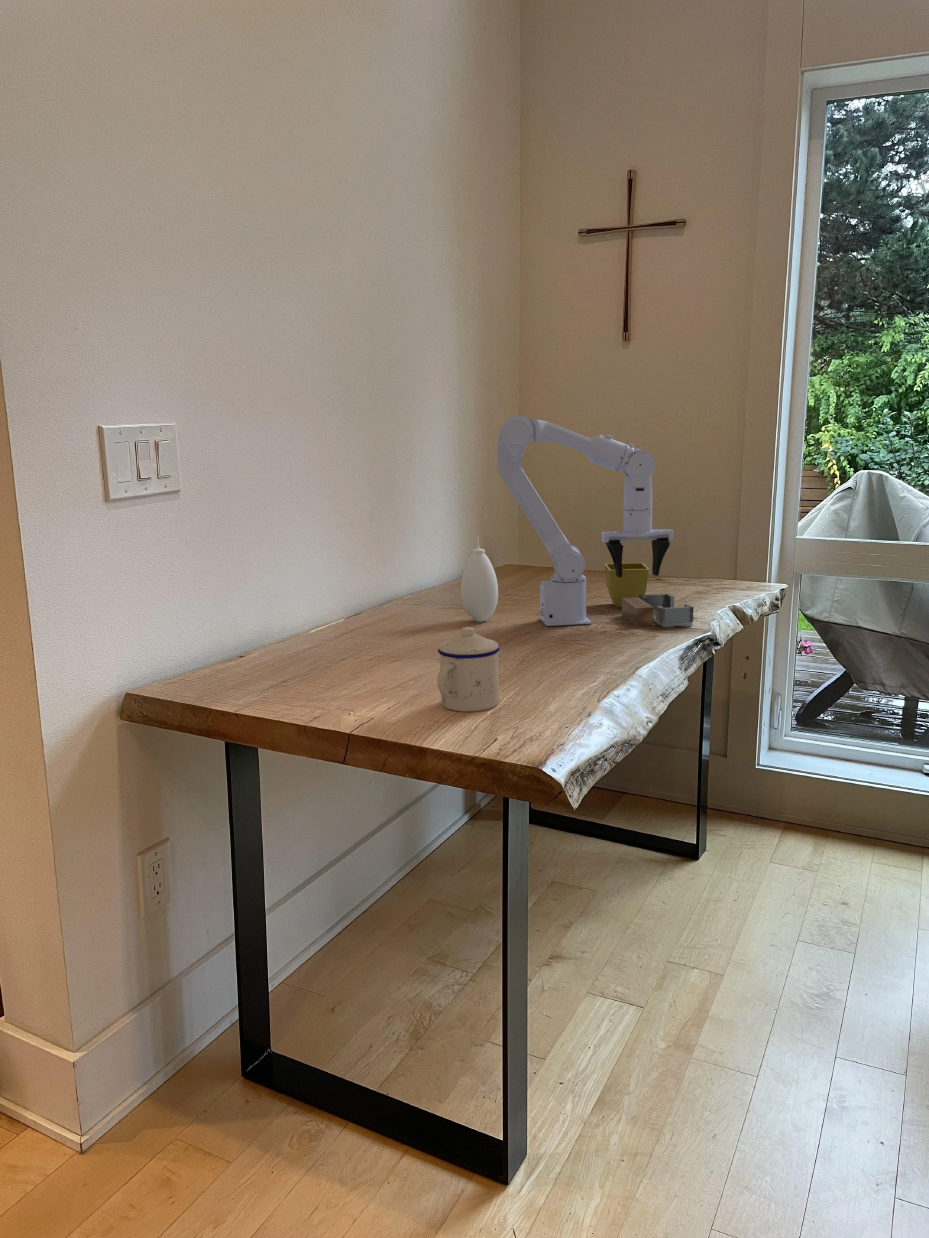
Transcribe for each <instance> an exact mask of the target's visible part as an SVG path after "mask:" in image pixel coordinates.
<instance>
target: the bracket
mask: <svg viewBox="0 0 929 1238" xmlns="http://www.w3.org/2000/svg"><path fill="white" fill-rule="evenodd" d="M639 598H640V599H641V600H643V601H644V602H646V603H647V604H649V605H650V606H652V607H653V623H655V622H656V623H655V624H657V625H658V626H660V627H661V626H662V627H661V628H663V627H665V628H675V627H674V626H685V627H692V626H693V623H694V606H692V605H690V603H689V604H688V603H686V604H685V603H684V604H683V605H684V606H676V607H675V595H673V594H671V593H655V594H654V593H652V594H651V593H650V594H645V595H640V597H639Z"/></svg>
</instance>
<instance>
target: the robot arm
mask: <svg viewBox="0 0 929 1238" xmlns="http://www.w3.org/2000/svg"><path fill="white" fill-rule="evenodd" d="M533 438H534V439H533ZM532 439H533V442H534V443H542V442H552V443H554V444H557V445H561V446H565V447H567V448H570V449H573V450H575V451H579V452H582V453H584V454H586V457H587V459H588V461H589V463H592V464H595V465H598V466H600V467H603V468H606V469H608V470H610V471H611V470H612V471H614V472H616V473H620V472H623V473H624V487H623V530H614V531H602V532H601V542H602V543H605V545H606V547H607V550H608V552H609V554H610V556H611V559H612V563H614V566H615V570H616V576H617V577H622V563H623V551H624V545H623V544H622V542H633V541H634V542H637V541H638V542H639V541H651V548H652V549H651V551H652V566H651V571H652V575H653V576H659V574H660V570H661V567H662V566H661V565H662V563H663V559H664V557H665V556H666V553H667V551H668V549H669V548H670V545H671V541H672V540H675V539H674V537H675V532H674V529H670V528H669V529H666V528H663V529H661V528H659V529H657V528H656V529H654V528H653V483H652V482H653V478H652V476H653V473H654V471H655V469H656V464H655V460H654V458H653V456H652V455H651V453H649V452H648V451H646V450H643V449H641V448H638V447H635V444H633V443H630V442H629V443H628V444H626V443H624V442H621V441H618V440H615V439H613V435H611V434H607V433H606V434H605V435H603V434H597V435H596V436H594V437H592V438H590V437H587V436H585V435H583V434H581V433H577V432H575V431H572V430H570V429H568V428H565V427H563V426H559V425H557V424H555V423H552V422H550V421H546V420H540V419H537V418H536V419H535V418H531V417H530V418H529V419H528V418H527V417H525V416H523V415H513V416H510V417H508V418H506V420H505V421H504V422H503V424H502V427H501V429H500V432H499V434H498V437H497V459H496V469H497V472H498V474H499V476H500V477H501V479H502V481H503V482H504V484H505V485H506V487H507V488H508V490H509V491H510V494H511V495H512V496H513V498H514V499H515V501H516V504H518V506H519V507H520V509H521V511H522V512H523V514H524V515H525V517H526V518H527V520H528V522H529V523H530V525H531V526H532V528H533V529H534V531H535V532H536V534H537V536H538V537H539V539H540V540H541V542H542V544H543V545H544V548H545V549H546V551H547V552H548V554H549V555H550V557H551V563H552V566H553V569H554V573H553V574H552V575H550V579H549V580H543V581H541V582H540V586H539V612H540V613H539V615H540V616H539V619H540V620H541V622H542V623H543V624H544V625H545V626H547V627H551V626H552V627H553V626H555V627H556V626H572V625H590V624H592V620H590V619H589V618H588V617H587V576H586V575H584V574H583V573H584V571H585V569H586V560H585V558H584V556H583V555H582V552H581V550H579V548H578V547H577V546H575V545H573V544H571V543H570V541H569V540H568V539H567V537H566V536H565V535H564V533H563V531H562V530H561V528H560V527H559V525H558V523H557V522H556V520H555V518H554V517H553V515H552V514H551V513H550V512H551V511H549V509H548V508H547V506H546V504H545V502H544V501H543V500H542V498H541V497H540V495H539V493H538V492H537V490H536V489H535V487H534V486H533V484H532V482H531V481H530V479H529V478H528V476H527V475H526V472H525V471H524V469H523V468H522V464H523V459H524V456H525V451H526V449H527V447H528V446H529V445H530V443H531V441H532Z"/></svg>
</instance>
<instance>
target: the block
mask: <svg viewBox="0 0 929 1238" xmlns="http://www.w3.org/2000/svg"><path fill="white" fill-rule="evenodd" d="M621 616H622V617H623V618H624V617H625V618H624V619H626V620H627V621H628V620H629V623H631V624H632V625H634V626H635V627H651V625H653V626H654V621H653V607H652V606H650V605H649V604H647V603H646V602H644V601H643V600H641V599H640V598H638V597H637V598H622V607H621ZM649 625H650V626H649Z"/></svg>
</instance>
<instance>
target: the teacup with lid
mask: <svg viewBox="0 0 929 1238" xmlns="http://www.w3.org/2000/svg"><path fill="white" fill-rule="evenodd" d="M460 632H461V633H460V634H456V635H455V636H453V637H452V638H451V639H448V640H445V641H443V642H442V643H440V644H439V646H438V649H437V652H438V654H439V667H440V668H439V672H438V673H437V678H436V680H437V688H438V690H439V691H438V692H439V693H440V696H441V697H440V698H441V705H442V706H443V707H444V708H445V709H448V710H451V711H454V712H463V713H466V712H467V713H474V712H476V713H477V712H482V711H488V710H490V709H493V708H495V707H496V706H497V705H498V704H499V703H500V690H499V689H500V687H499V684H500V682H499V680H500V679H499V651H500V647H499V644H498V643H497V641H496V640H493V639H491V638H486V637H484V636H483V635H481V634H479V633H476V630H475V628H474V627H471V626H467V627H462V628H461V631H460Z"/></svg>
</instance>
